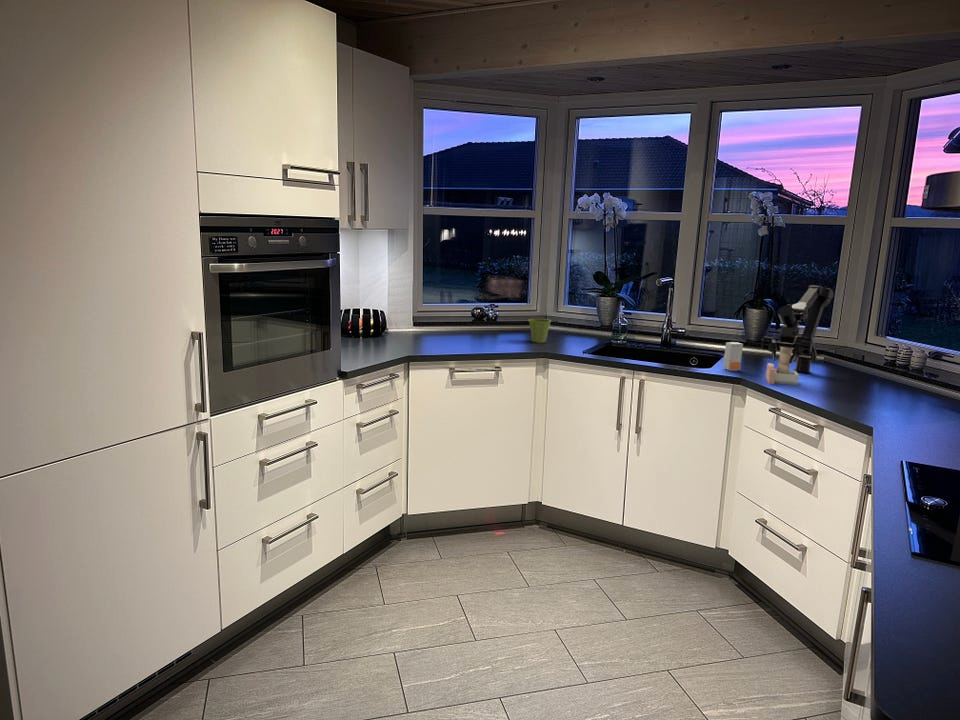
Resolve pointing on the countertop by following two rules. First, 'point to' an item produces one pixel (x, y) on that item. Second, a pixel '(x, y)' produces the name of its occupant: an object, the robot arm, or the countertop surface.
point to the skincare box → (732, 356)
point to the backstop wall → (770, 373)
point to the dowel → (784, 360)
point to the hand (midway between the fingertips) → (782, 361)
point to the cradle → (786, 378)
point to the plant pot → (539, 329)
